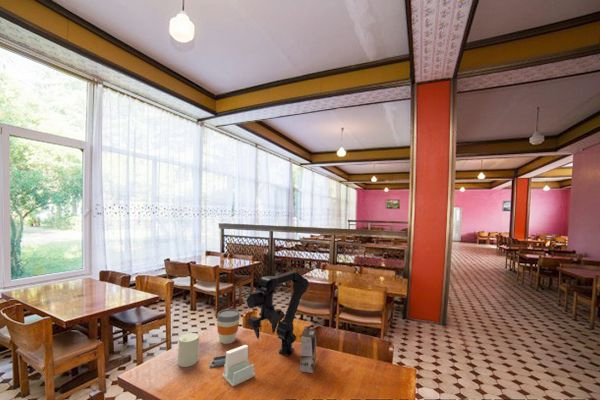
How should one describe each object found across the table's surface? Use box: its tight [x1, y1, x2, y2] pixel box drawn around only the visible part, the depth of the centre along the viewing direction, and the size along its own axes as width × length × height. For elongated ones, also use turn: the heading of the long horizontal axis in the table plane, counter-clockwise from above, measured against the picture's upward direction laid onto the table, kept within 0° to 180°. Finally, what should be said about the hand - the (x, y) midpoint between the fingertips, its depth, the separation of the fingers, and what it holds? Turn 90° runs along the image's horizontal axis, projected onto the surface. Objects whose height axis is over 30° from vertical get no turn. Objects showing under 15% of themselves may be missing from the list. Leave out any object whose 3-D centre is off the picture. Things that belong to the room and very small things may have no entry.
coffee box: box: [299, 328, 317, 374], centre depth 125 cm, size 9×6×16 cm
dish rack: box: [222, 360, 256, 387], centre depth 117 cm, size 11×9×5 cm
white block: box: [225, 344, 249, 377], centre depth 118 cm, size 10×2×10 cm, turn 133°
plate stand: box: [208, 354, 226, 369], centre depth 126 cm, size 13×4×2 cm, turn 112°
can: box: [176, 332, 200, 368], centre depth 127 cm, size 9×9×12 cm
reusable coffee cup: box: [216, 308, 241, 345], centre depth 149 cm, size 13×13×15 cm
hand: (265, 335), depth 128 cm, fingers open, 9 cm apart
